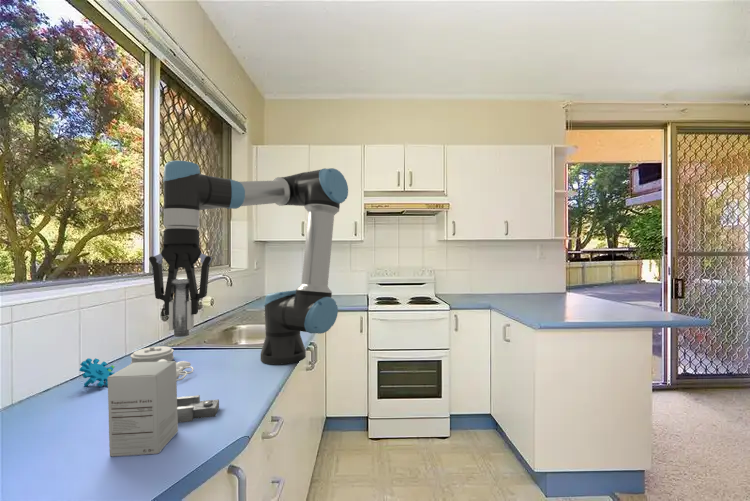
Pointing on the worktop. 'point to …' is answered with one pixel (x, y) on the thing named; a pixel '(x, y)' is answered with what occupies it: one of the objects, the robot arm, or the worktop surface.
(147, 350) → the lid
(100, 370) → the gear
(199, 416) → the bolted rod clamp
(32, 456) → the worktop surface
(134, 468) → the worktop surface
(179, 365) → the tangled rod sculpture
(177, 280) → the pin
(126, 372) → the supplement box
